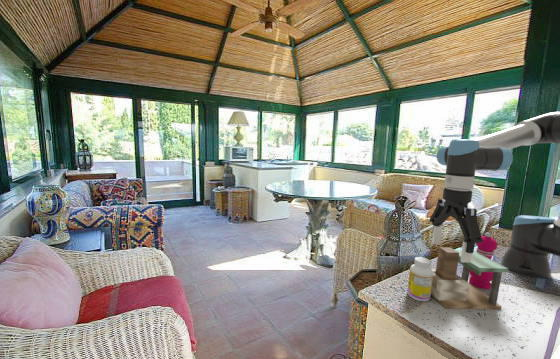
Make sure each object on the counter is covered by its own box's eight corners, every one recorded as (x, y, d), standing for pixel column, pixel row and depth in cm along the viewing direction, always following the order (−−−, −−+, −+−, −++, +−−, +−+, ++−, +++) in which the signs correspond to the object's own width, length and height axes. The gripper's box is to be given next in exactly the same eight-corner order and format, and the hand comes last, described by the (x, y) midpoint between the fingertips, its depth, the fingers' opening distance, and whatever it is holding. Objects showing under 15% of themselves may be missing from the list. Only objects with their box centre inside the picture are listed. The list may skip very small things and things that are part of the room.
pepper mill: (496, 291, 89) (506, 237, 86) (473, 288, 90) (482, 234, 87) (484, 281, 96) (493, 230, 93) (463, 278, 97) (471, 228, 94)
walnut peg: (433, 288, 87) (439, 247, 85) (444, 288, 87) (450, 247, 85) (441, 295, 83) (447, 252, 81) (452, 295, 83) (459, 252, 81)
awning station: (467, 284, 93) (473, 250, 91) (502, 309, 79) (509, 269, 77) (417, 283, 92) (421, 248, 90) (443, 308, 78) (449, 268, 76)
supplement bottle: (409, 288, 88) (414, 253, 86) (431, 296, 84) (436, 259, 82) (404, 296, 83) (409, 259, 81) (427, 305, 79) (433, 266, 77)
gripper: (422, 182, 92) (416, 237, 95) (478, 196, 67) (468, 271, 70) (442, 182, 92) (436, 238, 95) (505, 197, 68) (493, 271, 71)
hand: (449, 252), depth 83 cm, fingers open, 13 cm apart
